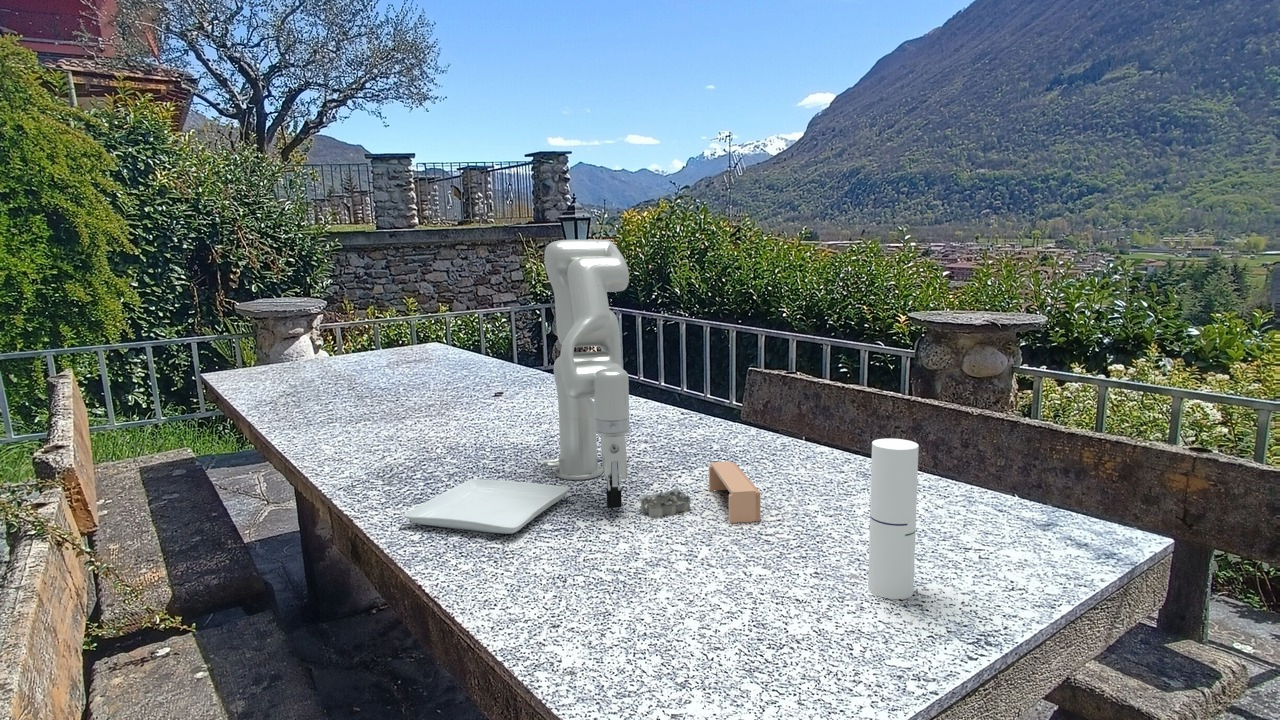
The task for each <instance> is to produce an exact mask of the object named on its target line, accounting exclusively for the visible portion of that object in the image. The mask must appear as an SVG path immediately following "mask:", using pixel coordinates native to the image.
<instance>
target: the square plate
mask: <svg viewBox="0 0 1280 720" xmlns="http://www.w3.org/2000/svg"><path fill="white" fill-rule="evenodd" d="M570 490H571V487H570V486H564V485H556V484H555V485H554V484H553V485H552V484H545V483H537V482H536V483H535V482H525V481H515V480H512V481H511V480H498V479H482V478H481V479H480V478H470V479H468V480H466V481H464V482H462V483H460V484H458V485H456V486H454V487H452V488H449V489H448V490H445V491H443V492H441V493H440V494H437V495H435V496H434V497H432V498H431V499H429V500H427V501H424V502H423V503H421V504H420V505H418V506H416V507H414V508H413V509H411V510H410V511H408V512H406V513H404V514H403V515H402V517H404V519H407V520H409V521H410V522H412V523H415V524H418V525H425V526H430V527H431V526H432V527H439V528H447V529H455V530H464V531H465V530H466V531H473V532H474V531H475V532H480V533H481V532H483V533H492V534H504V535H505V534H506V535H507V534H509V535H510V534H514V533H516V532H518V531H519V530H522V528H523V527H525V526H526V525H527V524H529V523H530V522H531V521H533V520H534V519H535V518H536V517H538V516H539V515H540V514H542V513H543V512H544V511H546V510H547V509H549V508H550V507H552V506H554V505H555V504H556V503H558V502H560V500H562V499H563V498H564V497H565V496H566V495H567V493H569V491H570Z"/></svg>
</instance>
